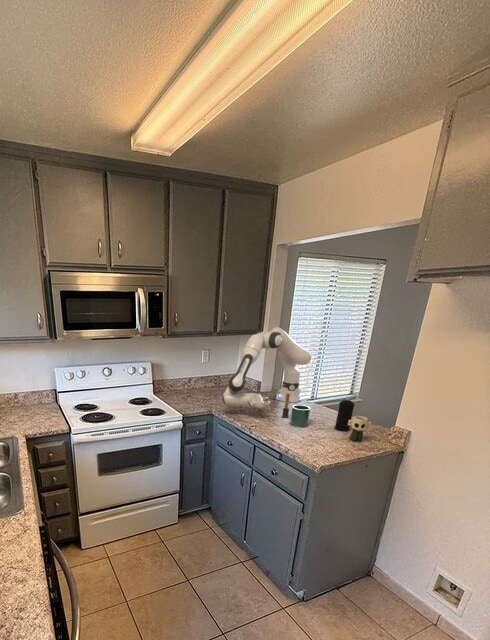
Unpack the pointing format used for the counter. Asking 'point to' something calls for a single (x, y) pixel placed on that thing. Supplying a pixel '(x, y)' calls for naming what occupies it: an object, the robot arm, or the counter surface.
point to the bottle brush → (286, 407)
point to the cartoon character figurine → (358, 427)
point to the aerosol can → (344, 414)
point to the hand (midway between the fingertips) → (269, 401)
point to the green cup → (300, 415)
